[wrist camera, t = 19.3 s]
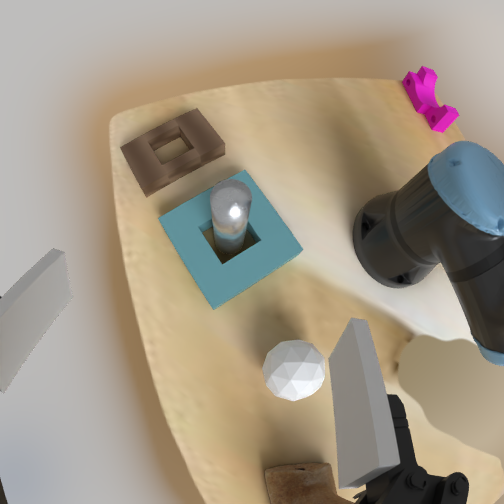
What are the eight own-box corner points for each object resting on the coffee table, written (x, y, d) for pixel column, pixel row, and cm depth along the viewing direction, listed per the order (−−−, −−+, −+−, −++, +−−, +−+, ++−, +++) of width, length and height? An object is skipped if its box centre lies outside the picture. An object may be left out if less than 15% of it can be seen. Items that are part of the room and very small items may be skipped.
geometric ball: (289, 377, 39) (295, 420, 32) (249, 350, 37) (249, 395, 30) (330, 347, 37) (344, 389, 30) (291, 316, 35) (301, 360, 28)
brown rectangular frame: (198, 119, 46) (196, 108, 43) (224, 154, 45) (225, 143, 42) (125, 157, 43) (120, 147, 40) (146, 197, 42) (141, 188, 39)
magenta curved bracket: (401, 82, 56) (414, 63, 48) (420, 88, 56) (433, 70, 49) (423, 128, 52) (440, 108, 45) (442, 133, 52) (459, 115, 45)
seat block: (243, 179, 44) (245, 169, 41) (298, 255, 41) (303, 249, 38) (162, 226, 41) (158, 218, 38) (213, 309, 38) (212, 308, 35)
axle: (233, 222, 42) (237, 172, 28) (248, 245, 41) (260, 203, 28) (209, 236, 41) (202, 191, 27) (224, 260, 40) (224, 224, 27)
